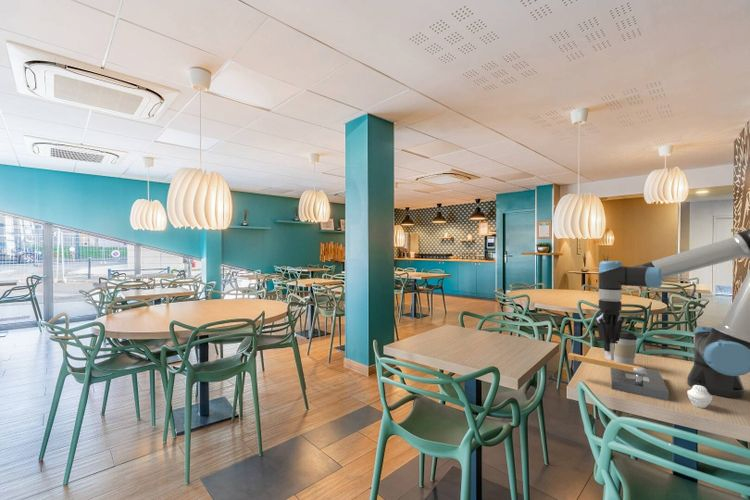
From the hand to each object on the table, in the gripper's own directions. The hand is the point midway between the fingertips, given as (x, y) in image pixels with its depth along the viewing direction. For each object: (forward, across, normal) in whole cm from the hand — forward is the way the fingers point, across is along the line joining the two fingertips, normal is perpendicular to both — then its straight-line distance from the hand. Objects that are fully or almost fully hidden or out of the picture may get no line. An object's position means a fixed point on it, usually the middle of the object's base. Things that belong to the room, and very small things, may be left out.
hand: (609, 359), depth 135 cm
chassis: (+8, -6, +6) cm, 12 cm away
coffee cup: (+8, -22, -11) cm, 26 cm away
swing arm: (+1, +7, +4) cm, 7 cm away
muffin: (+9, -8, +25) cm, 28 cm away
